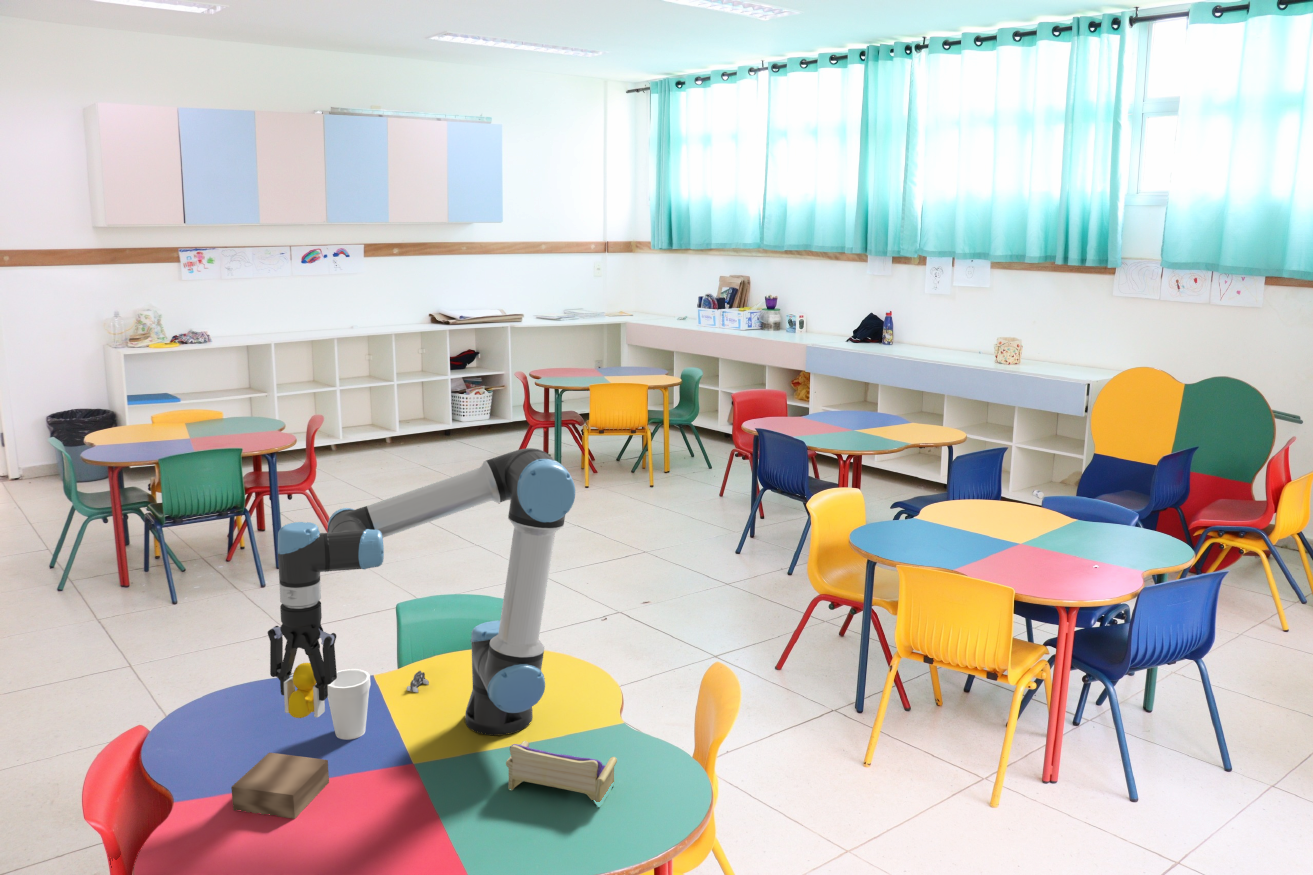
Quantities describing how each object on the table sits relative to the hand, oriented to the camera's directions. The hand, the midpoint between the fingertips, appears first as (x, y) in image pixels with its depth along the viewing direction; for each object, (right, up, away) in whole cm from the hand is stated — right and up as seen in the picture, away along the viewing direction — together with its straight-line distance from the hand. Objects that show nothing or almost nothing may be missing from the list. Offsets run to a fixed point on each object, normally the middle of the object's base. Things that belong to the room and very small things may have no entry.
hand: (304, 711), depth 203 cm
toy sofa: (+51, -17, +3) cm, 54 cm away
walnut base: (-4, -16, -1) cm, 17 cm away
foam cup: (+2, -11, +24) cm, 26 cm away
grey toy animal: (+13, -6, +49) cm, 51 cm away
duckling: (0, 0, 0) cm, 0 cm away
